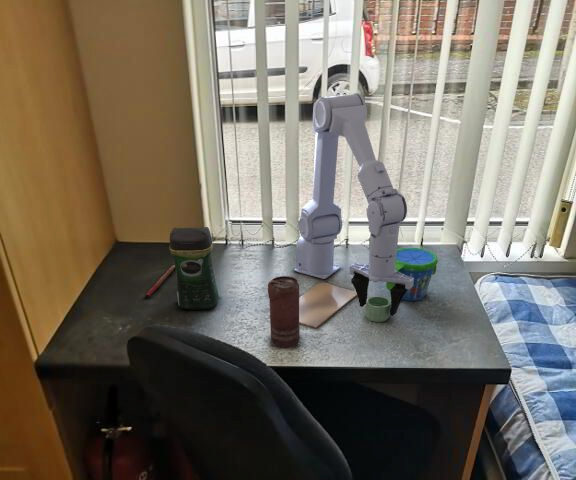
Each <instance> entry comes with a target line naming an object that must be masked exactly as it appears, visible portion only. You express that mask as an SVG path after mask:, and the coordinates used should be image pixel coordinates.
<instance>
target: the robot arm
mask: <svg viewBox="0 0 576 480" xmlns="http://www.w3.org/2000/svg"><path fill="white" fill-rule="evenodd" d="M312 109H313V110H312V111H313V112H312V132H313V133H315V146H314V162H313V163H314V166H313V181H312V182H313V183H312V199H310V200H309V201H308V203H306V204H305V205H304V206H303V207H302V208H301V211H300V218H299V220H298V230H299V234H300V236H299V237H298V239H297V242H296V245H295V268H294V272H297V273H300V274H304V275H307V276H311V277H315V278H318V279H322V280H326V279H328V278H329V277H330V276H331V275H333V274H334V273H336V272H337V271H338V270H340V266H338V265H334V261H335V259H334V256H335V240H337V239H338V235H339V234H341V232H342V229H343V219H342V208H341V207H340V205H339V204H337V203H336V202H335V201H334V199H335V187H336V176H337V175H336V174H337V163H338V148H339V138H340V137H343V138H345V140H346V142H347V144H348V147H349V148H350V150H351V152H352V155H353V156H354V159H355V161H356V162H357V164H358V166H359V170H358V172H357V179H358V181H359V183H360V185H361V189H362V192H363V194H364V196H365V198H366V199H365V200H366V202H367V204H368V205H367V207H366V216H367V221H368V232H369V233H370V239H369V252H368V255H369V256H368V264H363V263H356V262H354V263H352V264H351V265H349V273H348V274H349V275H352V276H353V277H351V278H350V283H351V284H352V286H353V288H354V291H356V293H357V296H356V297H357V299H358V303H359V307H360V308H363V307H365V306H366V300H367V299H368V293H369V284H370V282H373V283H378V282H382V283H383V282H384V283H387V282H388V283H392V284H395V286H394V287H393V288H392V289H391V290H390V291H389V293H390V301H391V307H390V317H394V316H395V315H396V314H397V313H398V310H399V306H400V304H401V301H402V300H403V299H402V298H403V296H404V294H405V293H406V291H407V290H408V289H411V288H412V287H413V283H414V278H412V277H409V276H406V275H404V274H402V273H400V272H398V271H396V270H395V264H396V254H397V250H398V243H399V236H400V235H399V234H400V225H401V223H402V222H404V221H405V220H406V218H407V215H408V205H407V204H408V203H407V201H406V197H405V196H404V195H403V194H402V193H401V192H400V191H398V189H397V188H394V186H393V183H392V181H391V179H390V176H389V174H388V171H387V169H386V166H385V164H384V162H382V161H380V160H377V158H376V156H375V152H374V149H373V145H372V143H371V139H370V135H369V133H368V129H367V126H366V122H367V118H368V117H367V116H368V108H367V105H366V101H365V99H364V97H363V95H362V94H361V93H358V92H355V93H352V94H342V95H333V96H320V97H318V99H316V101H315V102H313V107H312Z"/></svg>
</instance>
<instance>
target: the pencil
mask: <svg viewBox="0 0 576 480" xmlns="http://www.w3.org/2000/svg"><path fill="white" fill-rule="evenodd" d="M175 269H176V267H175V264H173V265H171V266H170V267H169V268H168V269H167V271H165V272H164V274H163V275H161V277H160V278H159V279H158V280H157V281H156V282H155V284H154V285H153V286H152V287H151V288H150V289H149V290H148V291H147V292H146V293H145V294H144V295H145V298H147V299H149V298H150V297H151V296H152V295H153V293H155V291H156V290H157V289H158V288H159V287H160V286H161V285H162V283H163V282H164V281H165V280H166V279H167V278H168V277H169V275H170V274H171V273H172V272H174V270H175Z"/></svg>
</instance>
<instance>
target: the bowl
mask: <svg viewBox="0 0 576 480" xmlns="http://www.w3.org/2000/svg"><path fill="white" fill-rule="evenodd" d="M390 308H391V298H390V299H389V298H388V297H386V296H381V295H374V296H370V297H367V300H366V304H365V312H364V316H365V318H366V319H368V320H369V321H370V322H374V323H383V322H385V321H387V320H388V319H389V318H390V317H391V315H390Z"/></svg>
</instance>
